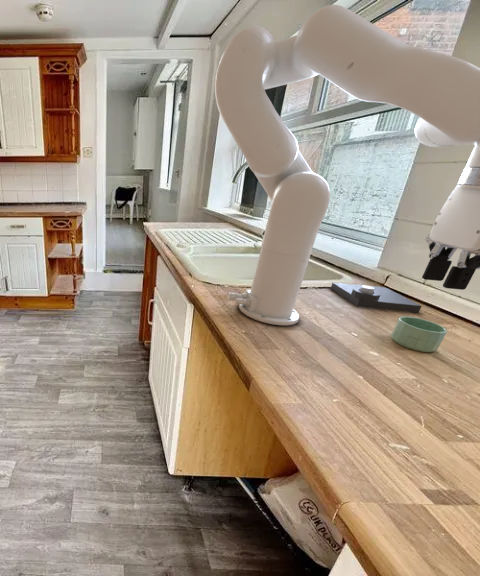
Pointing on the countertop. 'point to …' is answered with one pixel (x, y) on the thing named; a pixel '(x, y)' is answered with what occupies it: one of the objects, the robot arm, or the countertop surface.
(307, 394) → the countertop surface
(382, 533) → the countertop surface
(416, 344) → the bowl
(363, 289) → the tare button
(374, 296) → the scale
